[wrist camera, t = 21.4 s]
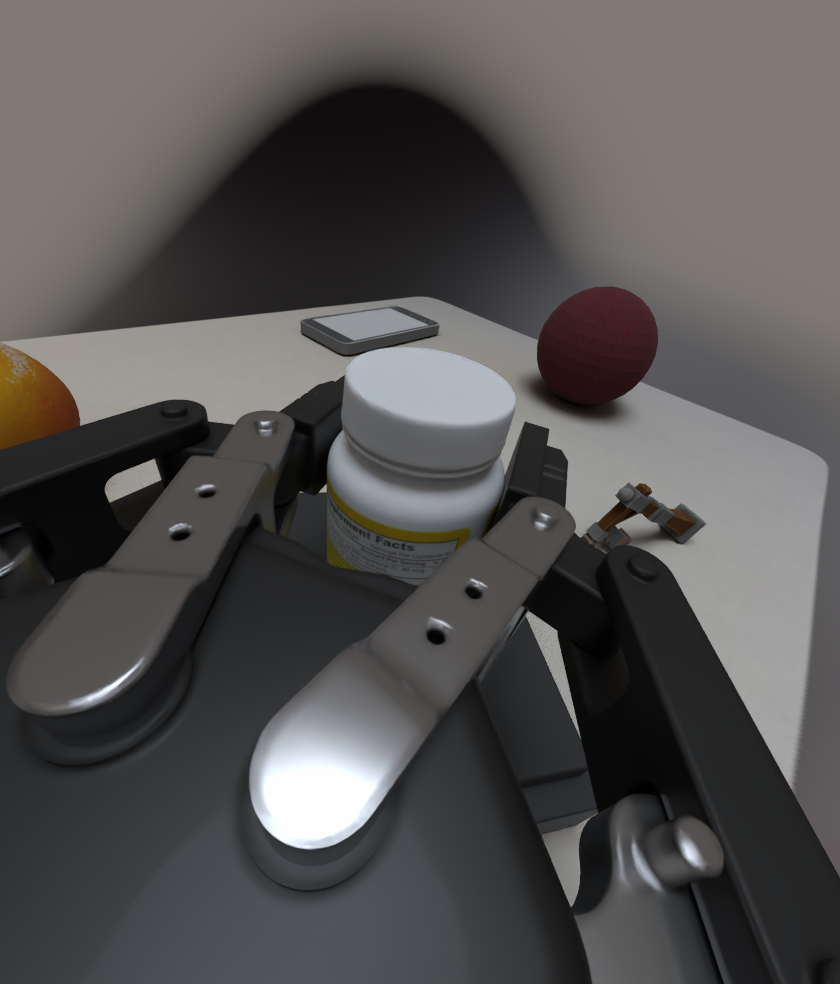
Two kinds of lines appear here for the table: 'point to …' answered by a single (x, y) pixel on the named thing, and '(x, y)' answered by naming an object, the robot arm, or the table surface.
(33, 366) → the fruit
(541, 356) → the decorative ball
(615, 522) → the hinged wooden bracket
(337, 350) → the smartphone
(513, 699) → the scale
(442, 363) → the supplement bottle
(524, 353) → the table surface
